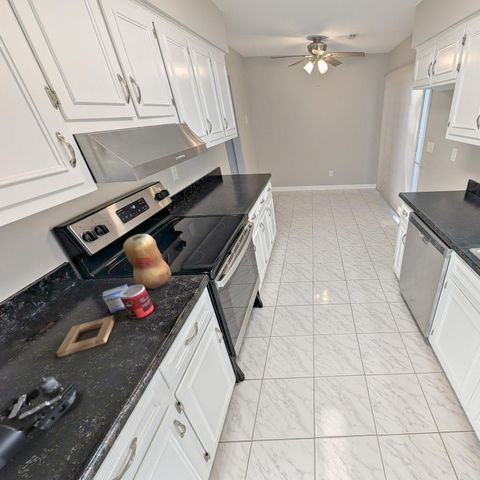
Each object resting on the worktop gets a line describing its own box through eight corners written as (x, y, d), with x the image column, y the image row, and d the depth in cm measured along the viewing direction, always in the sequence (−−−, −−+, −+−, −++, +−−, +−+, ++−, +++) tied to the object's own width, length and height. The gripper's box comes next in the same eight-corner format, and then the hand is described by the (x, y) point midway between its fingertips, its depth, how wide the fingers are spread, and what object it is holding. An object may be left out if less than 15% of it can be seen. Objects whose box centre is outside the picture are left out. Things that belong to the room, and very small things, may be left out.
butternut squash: (138, 299, 106) (113, 247, 95) (141, 283, 117) (118, 235, 106) (174, 288, 112) (154, 238, 101) (174, 274, 123) (156, 227, 112)
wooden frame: (59, 358, 81) (55, 353, 80) (75, 331, 92) (72, 326, 91) (106, 344, 86) (103, 339, 84) (116, 320, 96) (113, 315, 95)
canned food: (129, 313, 99) (117, 290, 94) (152, 303, 104) (142, 281, 99) (131, 323, 94) (119, 300, 89) (156, 313, 98) (145, 290, 93)
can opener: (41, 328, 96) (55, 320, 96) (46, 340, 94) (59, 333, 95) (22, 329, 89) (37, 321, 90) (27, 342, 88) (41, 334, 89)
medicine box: (111, 314, 99) (101, 297, 95) (112, 308, 102) (102, 291, 98) (135, 305, 103) (126, 288, 99) (134, 300, 106) (126, 283, 102)
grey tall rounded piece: (49, 411, 66) (22, 381, 61) (77, 392, 71) (54, 363, 65) (55, 424, 63) (28, 394, 58) (84, 403, 68) (61, 374, 62)
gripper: (3, 451, 49) (78, 373, 63) (-62, 448, 50) (27, 373, 65) (25, 470, 52) (92, 392, 67) (-36, 467, 53) (43, 391, 68)
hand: (60, 383), depth 66 cm, fingers open, 8 cm apart
